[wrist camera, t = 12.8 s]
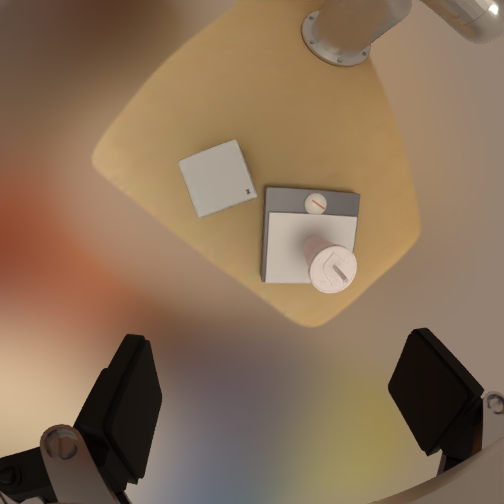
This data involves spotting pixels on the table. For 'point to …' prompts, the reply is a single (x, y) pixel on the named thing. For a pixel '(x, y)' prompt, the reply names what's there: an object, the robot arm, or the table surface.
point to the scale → (303, 228)
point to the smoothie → (329, 264)
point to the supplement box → (217, 178)
